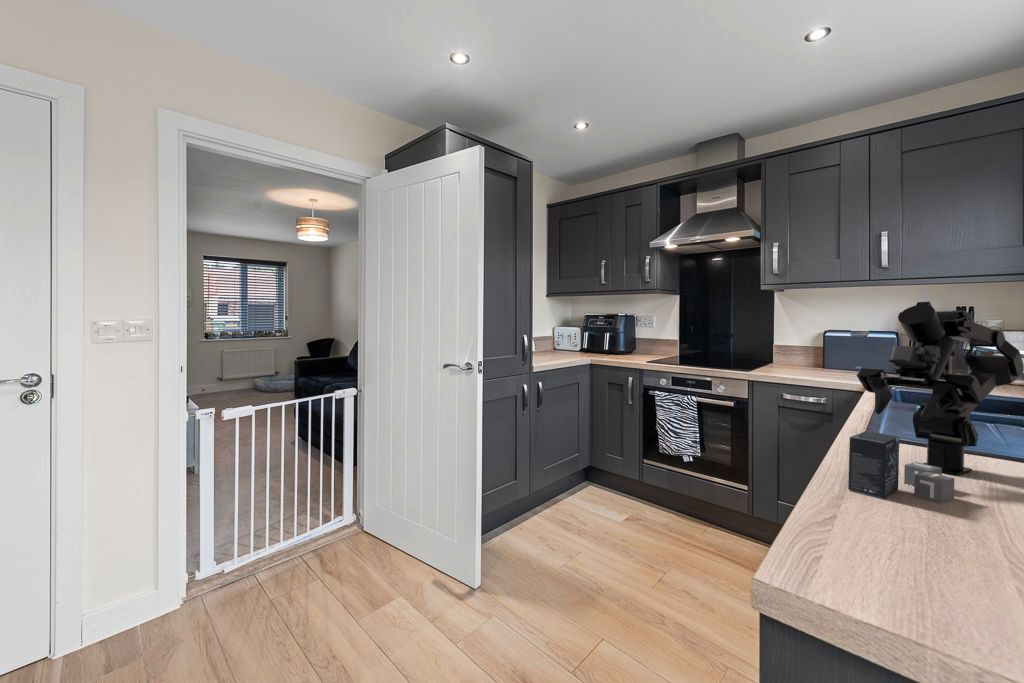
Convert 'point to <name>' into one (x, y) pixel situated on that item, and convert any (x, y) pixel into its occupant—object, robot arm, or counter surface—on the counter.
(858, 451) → the box
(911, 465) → the marked cube one
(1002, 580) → the counter surface
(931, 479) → the marked cube seven
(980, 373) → the robot arm
